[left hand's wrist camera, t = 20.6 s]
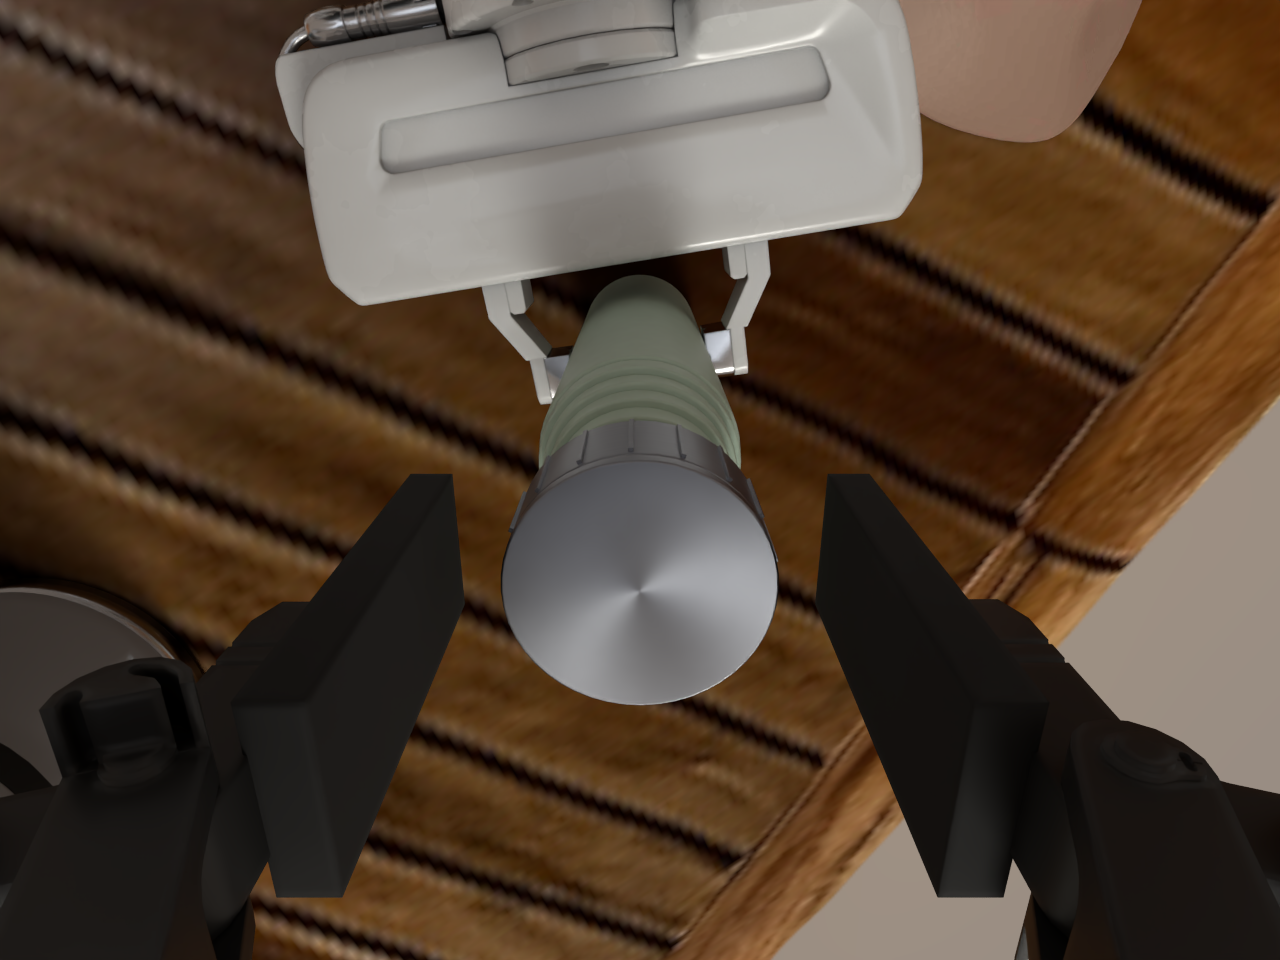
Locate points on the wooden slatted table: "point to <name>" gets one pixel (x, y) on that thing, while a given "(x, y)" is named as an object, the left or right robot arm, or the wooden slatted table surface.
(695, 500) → the cap
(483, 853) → the wooden slatted table surface
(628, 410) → the bottle
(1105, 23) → the anatomical model
